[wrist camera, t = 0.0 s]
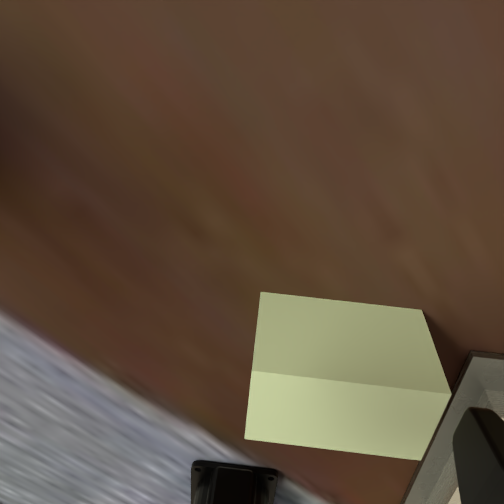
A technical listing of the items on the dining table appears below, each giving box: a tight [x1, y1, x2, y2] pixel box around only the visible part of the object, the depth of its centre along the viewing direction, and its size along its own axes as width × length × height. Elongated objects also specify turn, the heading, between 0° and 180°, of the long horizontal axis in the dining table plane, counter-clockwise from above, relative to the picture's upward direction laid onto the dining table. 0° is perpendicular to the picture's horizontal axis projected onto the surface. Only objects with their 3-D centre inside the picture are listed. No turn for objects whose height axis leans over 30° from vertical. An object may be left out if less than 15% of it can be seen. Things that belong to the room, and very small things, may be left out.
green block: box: [244, 292, 452, 461], centre depth 25 cm, size 5×9×6 cm, turn 86°
